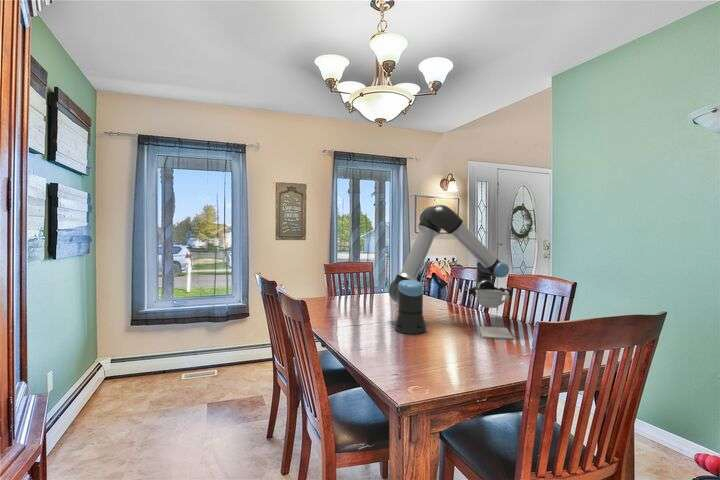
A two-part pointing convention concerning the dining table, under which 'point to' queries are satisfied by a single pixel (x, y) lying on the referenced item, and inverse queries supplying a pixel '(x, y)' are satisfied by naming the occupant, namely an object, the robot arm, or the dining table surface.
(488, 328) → the placemat
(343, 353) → the dining table surface
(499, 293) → the teacup
